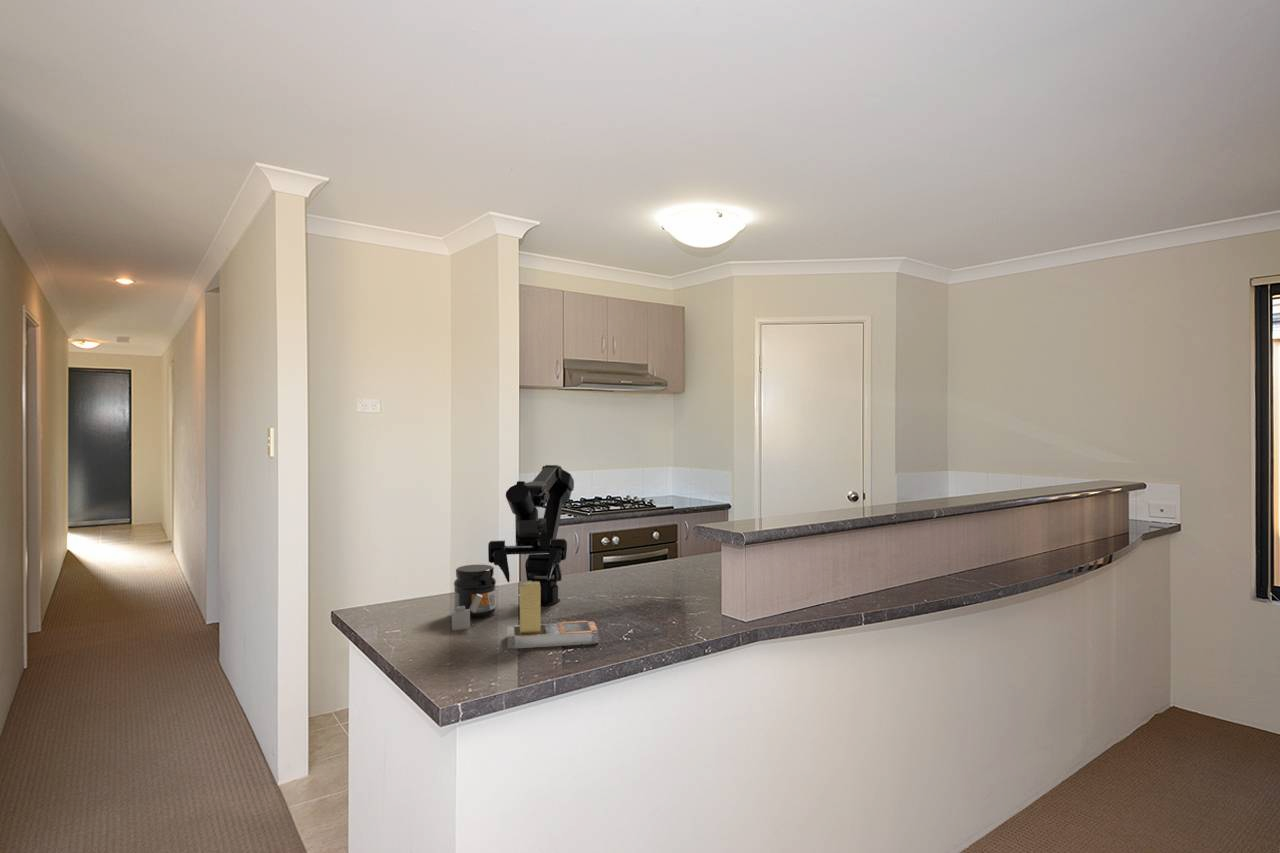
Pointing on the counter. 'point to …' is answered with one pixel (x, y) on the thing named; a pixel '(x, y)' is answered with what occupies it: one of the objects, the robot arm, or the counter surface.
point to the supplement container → (475, 589)
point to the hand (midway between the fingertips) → (528, 580)
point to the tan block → (530, 608)
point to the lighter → (464, 614)
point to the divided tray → (554, 635)
